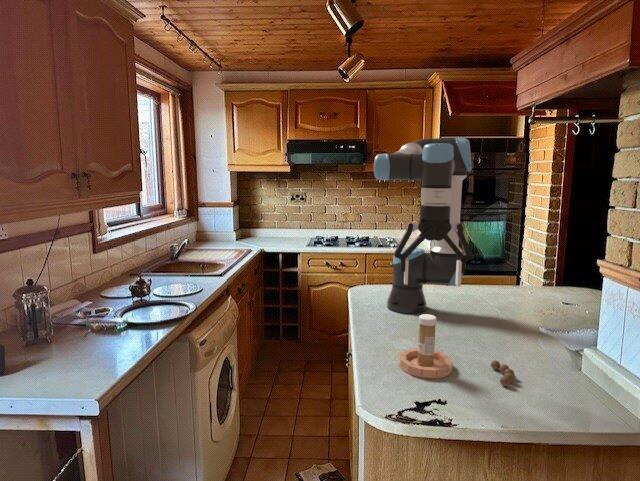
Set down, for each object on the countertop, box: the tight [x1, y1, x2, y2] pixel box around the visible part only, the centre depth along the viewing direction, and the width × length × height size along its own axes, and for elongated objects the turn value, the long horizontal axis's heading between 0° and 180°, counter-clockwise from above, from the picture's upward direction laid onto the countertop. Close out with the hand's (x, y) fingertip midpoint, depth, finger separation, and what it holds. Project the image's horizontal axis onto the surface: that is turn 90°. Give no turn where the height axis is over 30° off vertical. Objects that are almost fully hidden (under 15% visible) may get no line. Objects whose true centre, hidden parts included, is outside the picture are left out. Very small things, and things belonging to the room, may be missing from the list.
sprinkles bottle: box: [417, 313, 437, 367], centre depth 114 cm, size 5×5×13 cm
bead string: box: [490, 360, 515, 387], centre depth 110 cm, size 12×5×2 cm, turn 174°
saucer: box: [398, 347, 453, 380], centre depth 115 cm, size 14×14×2 cm
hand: (431, 284), depth 113 cm, fingers open, 13 cm apart
